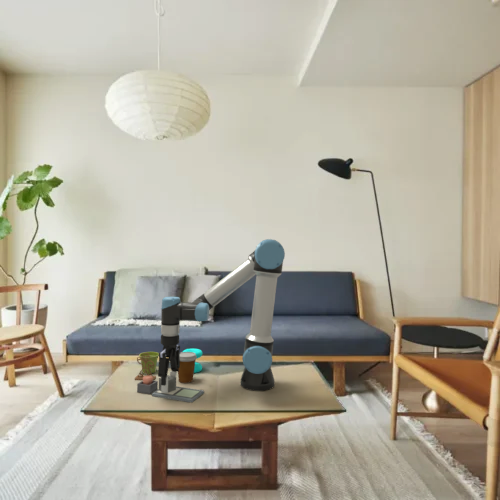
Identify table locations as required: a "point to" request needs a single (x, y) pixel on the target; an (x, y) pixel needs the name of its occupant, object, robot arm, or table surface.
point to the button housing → (147, 387)
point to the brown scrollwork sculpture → (144, 367)
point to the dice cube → (169, 383)
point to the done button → (147, 380)
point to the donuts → (198, 353)
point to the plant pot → (152, 357)
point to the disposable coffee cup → (186, 367)
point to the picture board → (180, 394)
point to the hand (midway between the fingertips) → (168, 389)
